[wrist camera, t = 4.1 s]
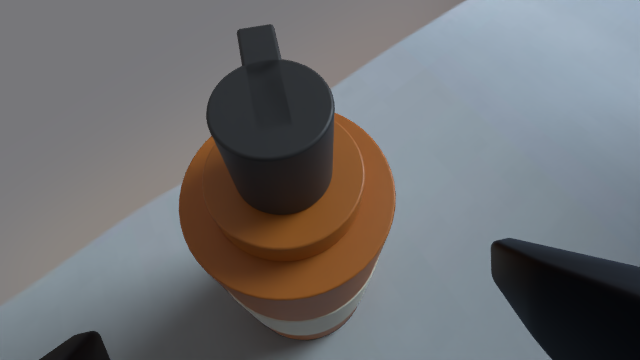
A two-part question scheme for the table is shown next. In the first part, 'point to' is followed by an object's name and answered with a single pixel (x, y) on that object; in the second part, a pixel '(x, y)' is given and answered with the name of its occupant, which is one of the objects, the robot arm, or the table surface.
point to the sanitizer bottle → (286, 195)
